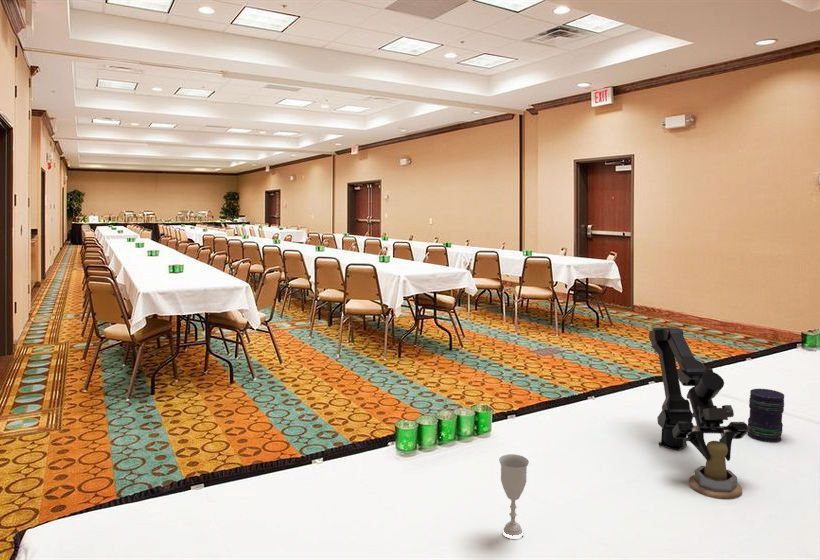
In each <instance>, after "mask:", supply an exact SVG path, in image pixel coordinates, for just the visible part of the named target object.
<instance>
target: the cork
mask: <svg viewBox="0 0 820 560" xmlns="http://www.w3.org/2000/svg"><path fill="white" fill-rule="evenodd" d="M706 447H707V450H708V453H709V457H710V460H709V461H707V460H706V463H705V465H704V466H705V470H704V476H706V477H709V478H712V479H716V480H727V473H726V469H727V464H726V461H727V460H726V458H725V456H726V455H727V453H728V448H727V446H726V444H724V443H722V442H720V441H719V440H710V441H708V442H707V443H706Z"/></svg>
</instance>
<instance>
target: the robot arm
mask: <svg viewBox="0 0 820 560" xmlns="http://www.w3.org/2000/svg"><path fill="white" fill-rule="evenodd" d="M648 340H649V342H650V343H651V347H652V349H653V350H654V351H655V353H657V354H658V359H659V364H660V365H659V366H660V371H661V378H662V383H663V389H664V395H665V399H664V401H663V402H662V405H661V412H660V413H659V415H658V416H657V424H658V425H659V427H660V428H661V436H660V439H661V441H660V442H658V445H659V446H662V447H666V448H669V449H672V450H676V451H680V450H682V449H683V448H686V447H687V446H688V443H687V442H690V444H692V445H693V446H694V447H695V448H696V449H697V450H698V451H699V453H700V454H701V456H703V458H704V459H705V460H706V461H709V460H710V457H709V453H708V450H707V447H706V446H707V443H706V441H705V436H704V435H705V434H720V438H719V440H718V441H719V442H722V443H724V444H726V446H727V448H728V453H727V455H726V456H725V460H726V461H727V462H730V460H731V454H732V452H731V451H732V442H733V440H740V439H742V438H744V436H746V435H748V432H749V428H748V423H745V421H730V423H728V425H726V426H724V425H722V424H724V421H728V420H729V418H733V417H734V416H735V414H734V409H733V406H732V405H731V404H724V405H721V407H718V406H717V405H714V403H713V399H714V398H715V397H716V396H717V395H718V394H719V393H720V391H721V390H722V389H723V387H724V385H725V381H724V379H723V378H722V377H721V376H720V374H718V373H716V372H714V370H713V368H707V367H706V366H705V365H704V363H703V362H701V361H700V360H698V359H696V358H695V356H694V354H693V351H692V350H691V349H690V346H689V344H688V342H687V340H686V339H685V336H684V330H683V329H682V328H680V327H672V326H671V327H664V326H663V327H652V329H651V330H650V331H649V332H648ZM677 364H678V366H677ZM678 367H679V369H678ZM680 383H681V385H682V386H683V387H690V389H688V392H687V394H686V399H685V398H684V396H683V395H682V391H681V390H682V389H681V385H680ZM688 399H689V400H688ZM691 409H692V410H691ZM693 418H694V420H695V424H696V425H694V423H693Z"/></svg>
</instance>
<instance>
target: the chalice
mask: <svg viewBox="0 0 820 560" xmlns="http://www.w3.org/2000/svg"><path fill="white" fill-rule="evenodd" d="M498 462H499V463H500V483H501V485H502V489H503V490H504V493H505V496H506V498H508V500H510V502H511V503H510V505H509V508H510V513H508V514H509V516H510V520H509V521H508V522H506V524H505V525H504V527H503V530H504V532H505V533H506V534H509V535H512V536H513V535H519V534H521V533H522V532H523V530H522V526H521V525H520V524H519V523H518V522H517V521H516V517H517V515H518V514H517V512H516V509H517V506H516V501H518V500H519V499H520V497H521V495H522V494H523V492H524V490H525V488H526V487H525V486H526V485H527V484H526V483H527V467H528V465H529V462H530V461H529V459H528V458H527V457H525V456H523V455H520V454H511V453H510V454H504V455H501V456H500V457H499V458H498Z"/></svg>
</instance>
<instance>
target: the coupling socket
mask: <svg viewBox="0 0 820 560" xmlns="http://www.w3.org/2000/svg"><path fill="white" fill-rule="evenodd" d="M705 466H706V465H700V466H699V467H697V468H696V469H694V474H692V475H690V477H688V486H689V487H690V488H691V489H692V490H693V491H695V492H697V493H698V494H701V495H704V496H705V497H710V498H714V499H720V500H733V499H734V500H735V499H737V498H739V497H741V496H742V495H743V486H742V485H741V484H740V483H739V482H738V476H737V475H736V474H734V472H733V471H732V470H729V469H727V468H726V473H727V480H716V479H712V478H709V477H706V476H704V470H705Z"/></svg>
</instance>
